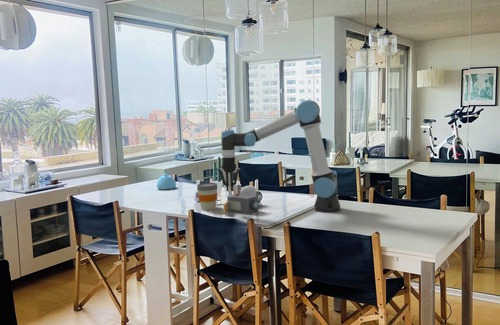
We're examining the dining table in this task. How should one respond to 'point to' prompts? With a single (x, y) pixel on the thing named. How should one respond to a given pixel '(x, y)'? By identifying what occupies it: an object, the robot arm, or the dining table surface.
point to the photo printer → (248, 190)
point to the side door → (226, 207)
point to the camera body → (243, 203)
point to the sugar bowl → (166, 182)
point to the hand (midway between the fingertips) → (230, 196)
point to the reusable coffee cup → (207, 195)
